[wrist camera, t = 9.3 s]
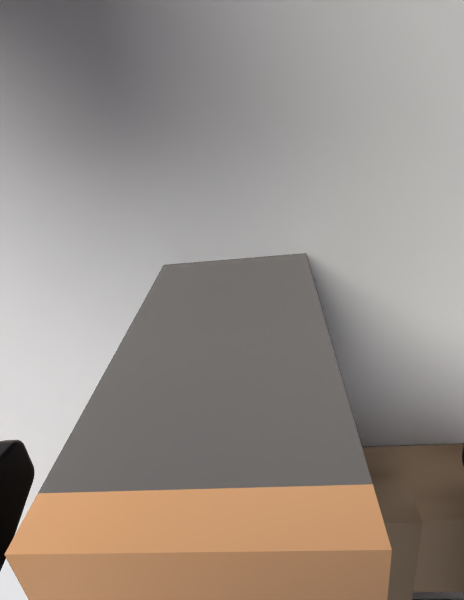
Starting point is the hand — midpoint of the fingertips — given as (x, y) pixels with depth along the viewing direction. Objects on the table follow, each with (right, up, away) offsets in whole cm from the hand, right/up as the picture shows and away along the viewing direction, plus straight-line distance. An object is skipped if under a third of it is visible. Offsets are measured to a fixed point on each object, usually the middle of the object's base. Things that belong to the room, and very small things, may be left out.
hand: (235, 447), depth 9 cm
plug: (0, +2, +5) cm, 5 cm away
